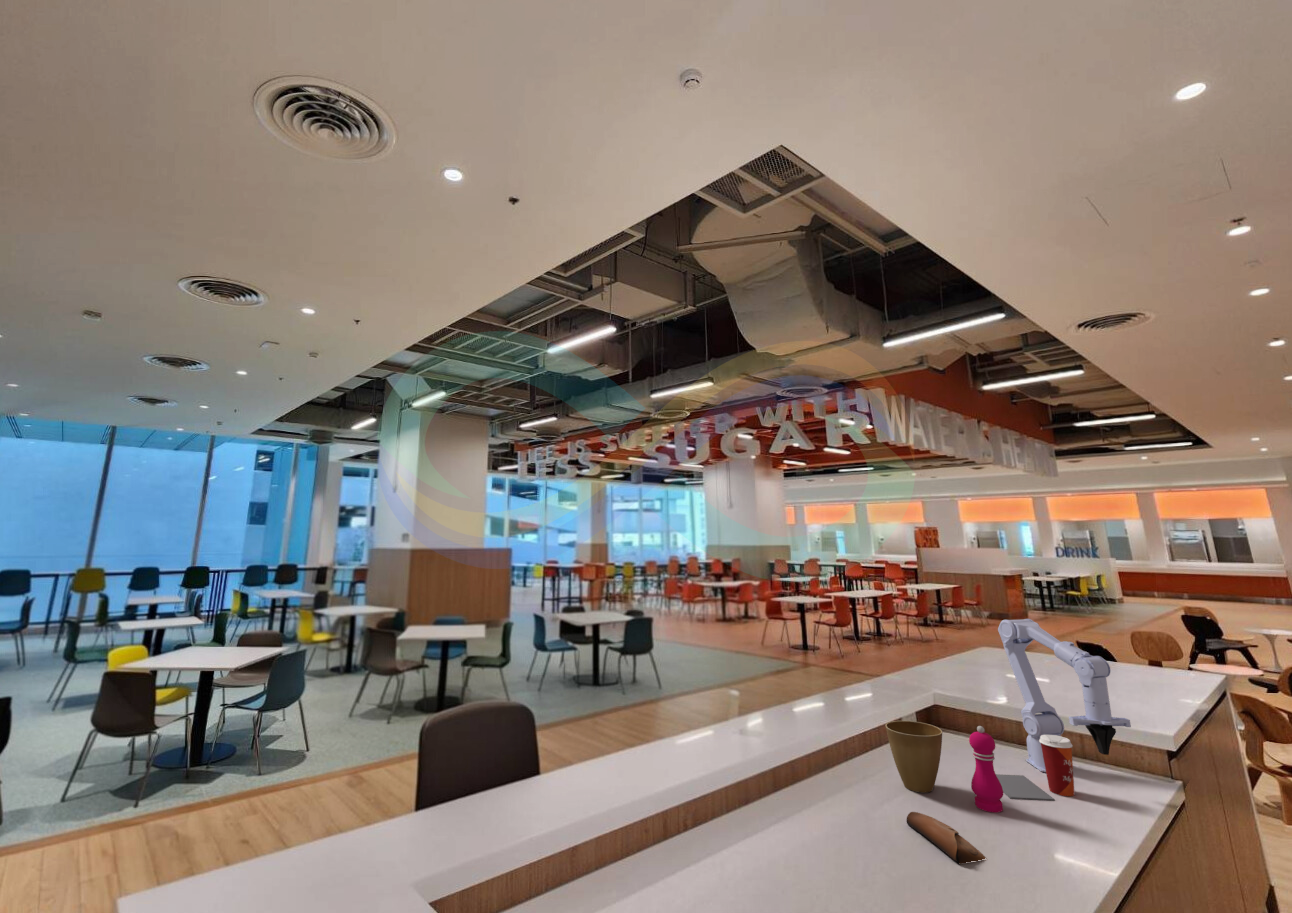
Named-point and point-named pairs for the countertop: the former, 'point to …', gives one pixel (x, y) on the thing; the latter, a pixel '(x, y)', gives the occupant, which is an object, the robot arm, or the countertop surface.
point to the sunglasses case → (944, 838)
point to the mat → (1021, 788)
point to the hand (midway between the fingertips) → (1103, 753)
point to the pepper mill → (985, 773)
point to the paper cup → (1058, 764)
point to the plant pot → (915, 753)
